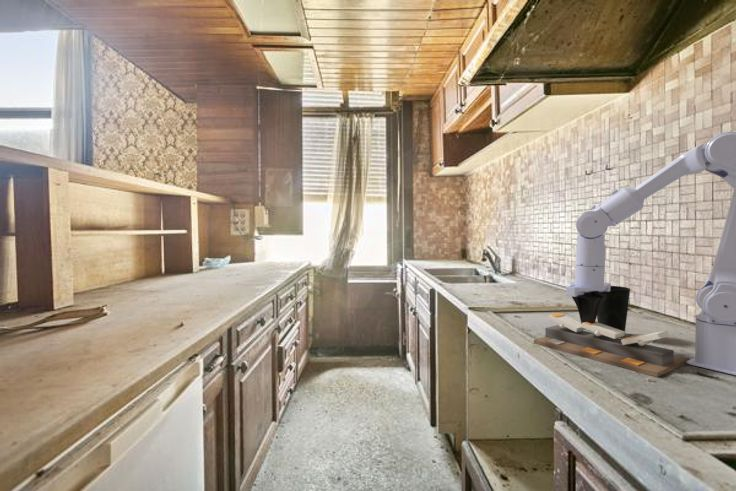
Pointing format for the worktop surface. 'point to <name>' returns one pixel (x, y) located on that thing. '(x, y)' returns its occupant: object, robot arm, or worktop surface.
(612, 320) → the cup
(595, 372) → the worktop surface
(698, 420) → the worktop surface
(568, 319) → the switch
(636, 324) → the worktop surface
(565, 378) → the worktop surface
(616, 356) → the switch board
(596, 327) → the switch
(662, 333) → the switch
